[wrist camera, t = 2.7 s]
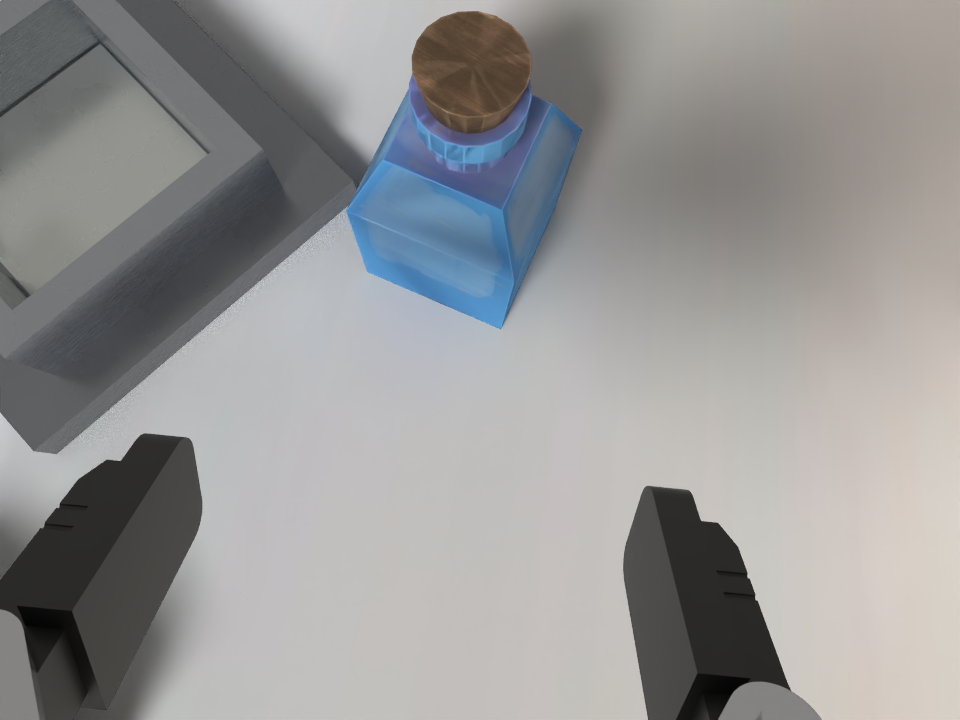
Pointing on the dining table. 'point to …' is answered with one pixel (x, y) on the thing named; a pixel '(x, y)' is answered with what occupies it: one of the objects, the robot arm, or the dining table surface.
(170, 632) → the dining table surface
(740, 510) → the dining table surface
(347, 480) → the dining table surface
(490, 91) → the perfume bottle
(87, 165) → the grey square frame
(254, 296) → the dining table surface
